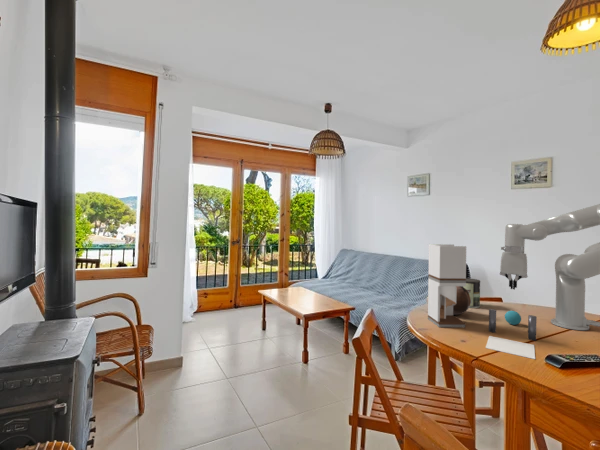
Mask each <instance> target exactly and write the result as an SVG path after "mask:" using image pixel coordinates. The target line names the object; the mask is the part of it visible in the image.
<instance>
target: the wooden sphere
mask: <svg viewBox="0 0 600 450" xmlns="http://www.w3.org/2000/svg"><path fill="white" fill-rule="evenodd" d="M456 287H457V295H456V305H453V316H454V315H456V316H457V315H462V314H464V313H465V312H467V310H469V309H470V308H469V307H470V304H471V298H470V295H469V293H468V291H467V290H466V289H465V288H464V287H462V286H456Z"/></svg>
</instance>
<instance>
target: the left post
mask: <svg viewBox="0 0 600 450" xmlns="http://www.w3.org/2000/svg"><path fill="white" fill-rule="evenodd" d="M488 332H490V333H497V310H496V309H494V308H489V309H488Z"/></svg>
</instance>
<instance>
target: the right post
mask: <svg viewBox="0 0 600 450" xmlns="http://www.w3.org/2000/svg"><path fill="white" fill-rule="evenodd" d="M527 318H528V321H527V323H528V325H527V326H528V327H527V339H528V340H530V341H537V322H538V321H537V320H538V319H537V316H535V315H533V314H531V315H530V314H528V316H527Z"/></svg>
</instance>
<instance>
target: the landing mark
mask: <svg viewBox="0 0 600 450" xmlns="http://www.w3.org/2000/svg"><path fill="white" fill-rule="evenodd" d="M485 349H488V350H492V351H496V352H502V353H506V354H510V355H514V356H518V357H524V358H528V359H532V360H536V354H535V353H536V351H535V344H530V343H526V342H521V341H516V340H512V339H507V338H503V337H497V336H492V335H489V336H488V338H487V342H486V344H485Z"/></svg>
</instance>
